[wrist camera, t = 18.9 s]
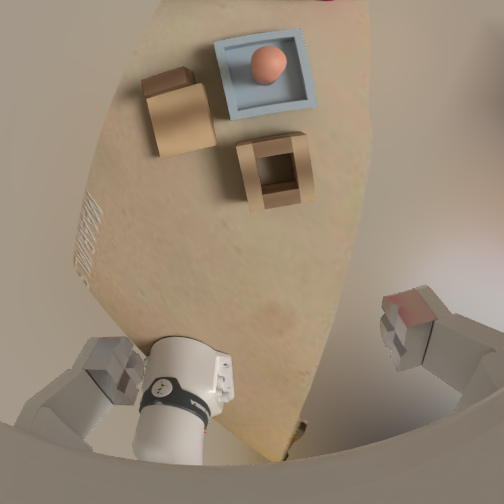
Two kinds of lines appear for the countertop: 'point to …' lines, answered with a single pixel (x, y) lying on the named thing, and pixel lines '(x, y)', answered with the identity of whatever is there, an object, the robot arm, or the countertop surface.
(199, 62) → the countertop surface
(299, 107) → the tray
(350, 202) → the countertop surface
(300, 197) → the socket block
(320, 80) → the countertop surface
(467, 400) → the robot arm
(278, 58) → the dowel
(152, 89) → the block
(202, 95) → the tan wooden cuboid
